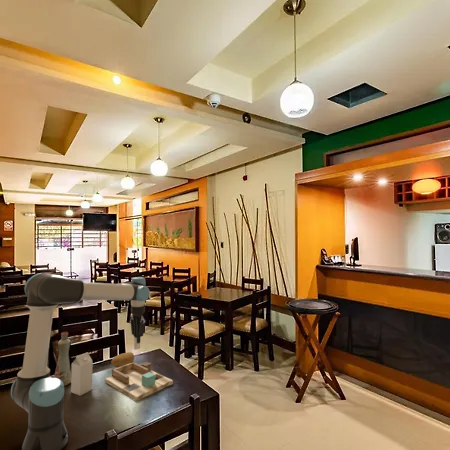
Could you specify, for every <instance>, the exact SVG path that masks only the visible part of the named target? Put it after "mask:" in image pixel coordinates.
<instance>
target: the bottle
mask: <svg viewBox="0 0 450 450" xmlns="http://www.w3.org/2000/svg"><path fill="white" fill-rule="evenodd" d="M60 336H61V339H60V340H59V341H58V342H57V346H58V347H57V348H58V357H57V362H56V368H55V372H54V376H53V378H58V379H60V380H61V381H62V382H63V384H64V387H65V386H67V385H69V384H71V377H72V369H71V365H70V356H69V351H70V348H71V347H70V346H71V340H70V339H69V338H68V337H69V332H68V331H62V332H61V333H60Z"/></svg>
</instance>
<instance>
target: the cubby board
mask: <svg viewBox="0 0 450 450" xmlns="http://www.w3.org/2000/svg"><path fill="white" fill-rule="evenodd" d="M148 372H151V373H153V374H155V385H152V386H150V387H148V388H147V387H145V386H143V385H142V375H143V374H146V373H148ZM104 382H105V383H106V384H107V385H108V386H111V387H113V388H114V389H115V390H117V391H119V392H120V393H122V394H124V395H126V396H127V397H128V398H131V399H132V400H134V401H135V402H138V401H140V400H142V399H143V398H146V397H148V396H151V395H152V394H155V393H156V392H159V391H160V390H163V389H165V388H167V387H170V386H171V385H173V383H174V381H173V379H171V378H169V377H166V376H164V375H162V374H160V373H159V372H156V371H154V370H152V369H151V370H150V371H149V369H148V368H145V367H143V366H141V364H139V363H137V362H134V361H133V362H132V363H130V364H127V365H124V366H121V367H118V368H116V367H115V368H113V369H111V375H110V376H108V377H106V378H105V380H104Z"/></svg>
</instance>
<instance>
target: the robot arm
mask: <svg viewBox="0 0 450 450" xmlns="http://www.w3.org/2000/svg"><path fill="white" fill-rule="evenodd" d="M24 293H25V296H26V297H27V299H26V307H27V308H28V309H29V318H28V325H27V326H28V327H27V334H26V339H25V348H24V355H23V363H22V368H21V370H19V371H18V373H17V374H16V375H17V376H16V379H15V380H14V381H13V383H12V384H11V386H10V387H11V388H10V397H11V399H12V400H13V402H14V403H15V404H16V405H18V406H19V407H20V408H21V409H23V410H24V411H26V412H27V413H28V422H27V423H28V424H27V425H28V426H27V431H26V434H25V437H24V440H23V443H22V445H21V450H62V449H63V448H64V447H65V446H66V445H67V443H68V437H69V435H68V430H67V428H66V424H65V422H64V405H65V386H64V384H63V382H62V381H61V380H60V379H58V378H54V377H50V375H51V368H49V367H48V365H47V364H48V358H49V349H50V340H51V333H52V325H53V318H54V317H53V315H54V310H55V309H56V307H58V306H59V304H67V303H70V304H71V303H79V302H81V301H130V305H131V306H130V313H131V316H129V321H130V329H131V335H132V336H133V338H134V339H133V341H134V342H133V345H134V348H133V350H138V349H140V348H141V337H143V336H144V333H145V327H146V323H147V319H146V318H144V313H145V312H146V306H145V305H146V301H147V300H148V299H149V297H150V293H151V290H150V289H149V287H148V286H147V285H146V278H145V277H142V276H137V277H136V276H135V277H132V278H131V281H129V282H118V283H107V282H105V283H104V282H89V281H88V282H87V281H84V280H83V279H79V278H71V277H67V276H63V275H60V274H53V273H50V272H40V273H36V274H34V275H32V276H31V277H29V278H28V279H27V281H26V282H25V285H24Z"/></svg>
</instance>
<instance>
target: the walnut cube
mask: <svg viewBox="0 0 450 450" xmlns="http://www.w3.org/2000/svg"><path fill="white" fill-rule="evenodd" d="M140 365H141V366H143V367H145V368H148V369H149V371H150V370H152V363H151V362H143V363H141V364H140Z"/></svg>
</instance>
